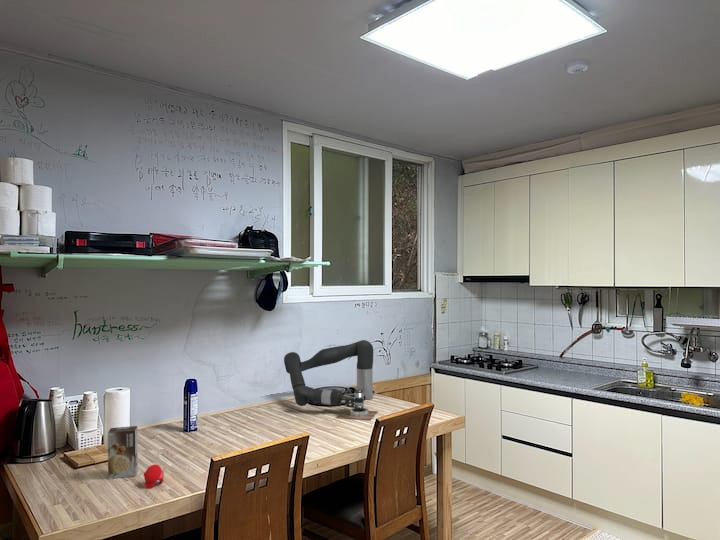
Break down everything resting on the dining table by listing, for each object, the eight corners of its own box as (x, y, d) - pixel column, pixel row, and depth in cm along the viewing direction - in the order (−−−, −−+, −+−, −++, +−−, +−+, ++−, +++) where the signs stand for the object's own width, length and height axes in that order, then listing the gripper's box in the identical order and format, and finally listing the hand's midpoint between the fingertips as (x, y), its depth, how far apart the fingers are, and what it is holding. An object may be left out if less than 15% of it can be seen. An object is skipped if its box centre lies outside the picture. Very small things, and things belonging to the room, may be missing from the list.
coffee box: (138, 470, 183) (138, 425, 184) (135, 476, 177) (136, 430, 177) (110, 472, 181) (110, 427, 181) (107, 479, 174) (107, 432, 175)
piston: (355, 410, 256) (355, 388, 256) (364, 411, 255) (364, 389, 255) (353, 413, 252) (353, 390, 252) (362, 413, 251) (362, 391, 251)
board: (344, 411, 265) (344, 409, 265) (378, 413, 260) (378, 411, 260) (334, 420, 247) (334, 418, 247) (370, 422, 243) (370, 420, 243)
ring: (352, 411, 259) (352, 406, 259) (370, 412, 257) (370, 408, 257) (347, 416, 250) (347, 411, 250) (366, 417, 248) (365, 412, 248)
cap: (147, 470, 174) (139, 466, 169) (164, 463, 175) (156, 459, 170) (149, 493, 170) (141, 490, 165) (166, 487, 171) (158, 483, 166)
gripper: (327, 393, 250) (360, 395, 246) (335, 387, 264) (367, 388, 260) (327, 408, 250) (360, 410, 246) (335, 401, 264) (367, 403, 260)
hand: (364, 399), depth 253 cm, fingers closed on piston, 4 cm apart
